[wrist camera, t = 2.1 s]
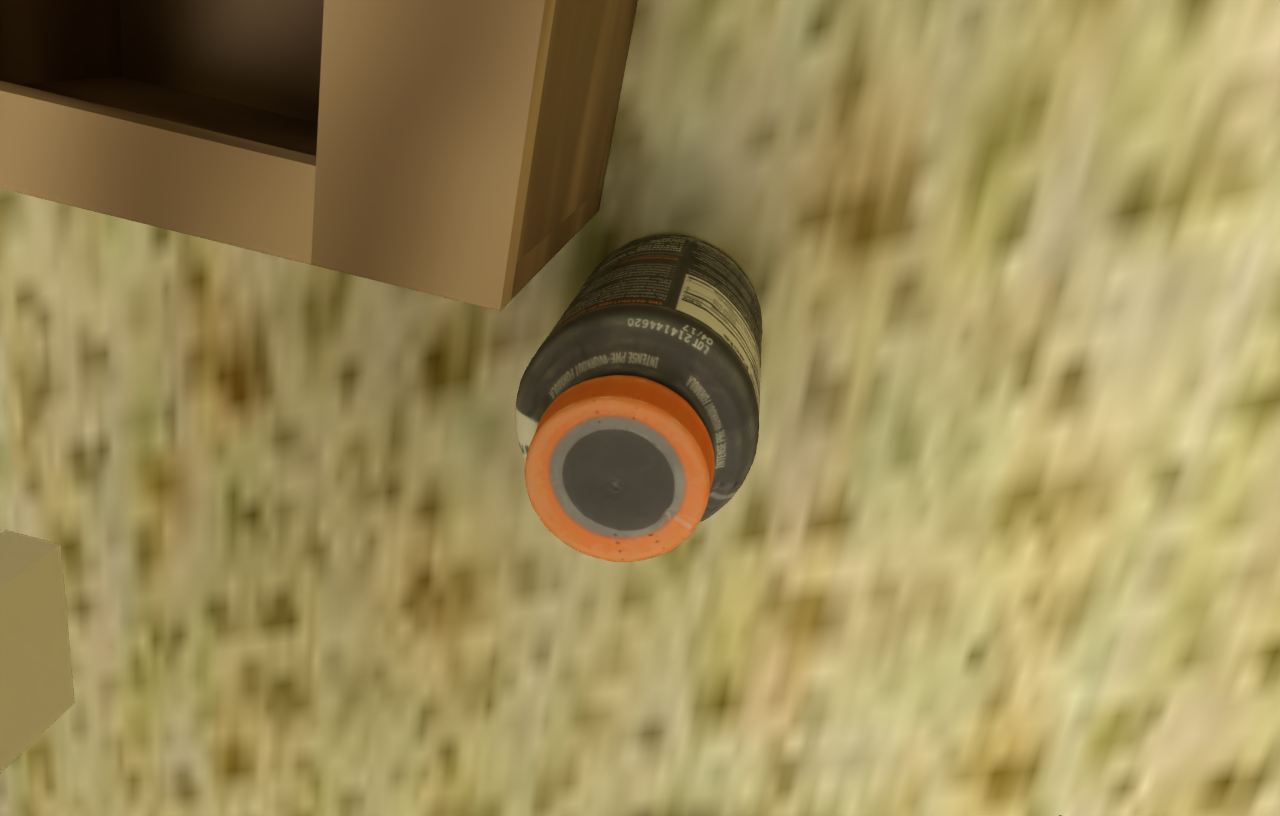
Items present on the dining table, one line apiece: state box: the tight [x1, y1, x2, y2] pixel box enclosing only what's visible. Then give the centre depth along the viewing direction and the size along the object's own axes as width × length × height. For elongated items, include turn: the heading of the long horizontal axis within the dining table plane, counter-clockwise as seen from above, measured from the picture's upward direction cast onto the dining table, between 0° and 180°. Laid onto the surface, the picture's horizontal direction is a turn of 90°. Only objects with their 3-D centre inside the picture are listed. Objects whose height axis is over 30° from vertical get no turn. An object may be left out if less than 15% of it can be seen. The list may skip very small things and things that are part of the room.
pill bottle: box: [516, 235, 762, 562], centre depth 24 cm, size 6×6×11 cm
